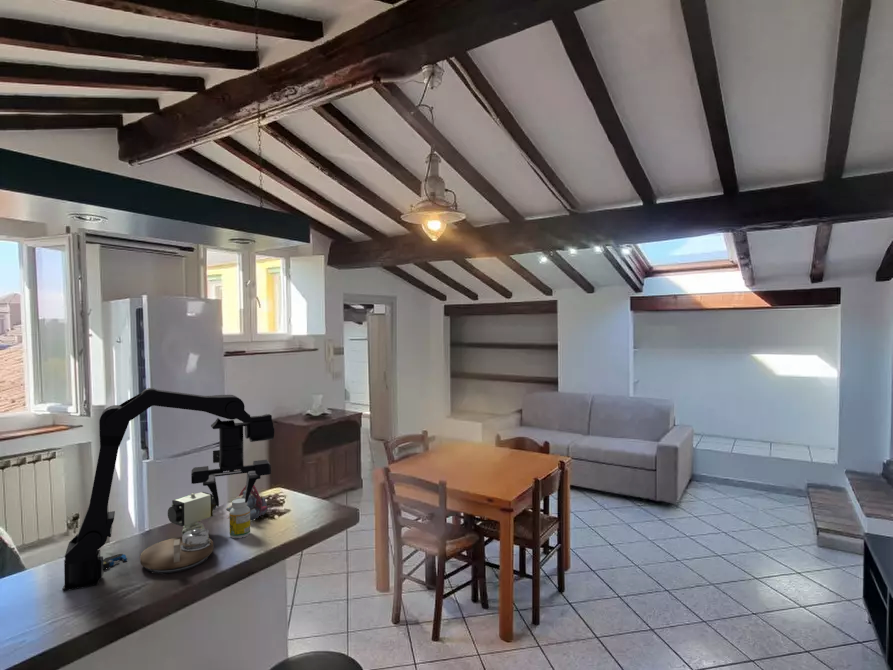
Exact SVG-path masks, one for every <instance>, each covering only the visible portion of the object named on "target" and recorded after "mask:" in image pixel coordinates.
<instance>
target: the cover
mask: <svg viewBox="0 0 893 670" xmlns="http://www.w3.org/2000/svg"><path fill="white" fill-rule="evenodd" d="M181 535H182V534H181ZM181 537H182V545H181V550H182V551H185V552H193V551H199V550H202V549H205V548H207V547H208V546H210V544H211V541H210V540H209V539H210V530H209V529H207V528H204V529H199V528H196V529H192V530H190V531H187V532H185V533H184V534H183V535H182V536H181Z"/></svg>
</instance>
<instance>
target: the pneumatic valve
mask: <svg viewBox="0 0 893 670" xmlns="http://www.w3.org/2000/svg"><path fill="white" fill-rule="evenodd" d="M216 509H217V505H216V502H215V500H214V497H213V495H212V493H208V492H206V491H201V492H197V493H195V492H193V493H190V494H189V495H187V496H183V497H181V498H180V497H179V498H176V499H173V500H172V502H171V506H169V508H168V510H167V518H168V521H169V522H170V523H171V524H174V525H177V526H180V527H182V531H181V535H183V534H184V533H185V532H187V531H190V530H192V529H196V528H199V529H205V525H204V523H201V522H202V521H204V520H206V519H208V518H212V517H213V513H214V511H215V510H216Z"/></svg>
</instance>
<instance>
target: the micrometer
mask: <svg viewBox="0 0 893 670" xmlns="http://www.w3.org/2000/svg"><path fill="white" fill-rule="evenodd" d="M120 560H121V561H122V562H126V561H127V560H128V558H127V556H126V554H123V553H119V554H114V555H111V556H108V557H105V558H103V569H106V568H109V567H110V566H111V567H113V565H114V566H115V564H119V563H120V562H121V561H120ZM111 567H110V568H111ZM110 568H109V569H110ZM106 570H107V569H106Z"/></svg>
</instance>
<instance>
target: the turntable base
mask: <svg viewBox="0 0 893 670" xmlns="http://www.w3.org/2000/svg"><path fill="white" fill-rule="evenodd" d="M209 557H210V555H209V556H208V557H206V558H204V559H203V560H201V561H198V562H196V563H193V564H191V565H187V566H184V567H179V568H174V569H164V570H155V569H148V568H145V570H146V571H147V570H148V572H150V573H152V572H153V574H158V575H159V574H160V575H162V574H161V573H163V575H164V574H165V575H166V574H174V573H179V572H183V571H187V570H190V569H193V568H196V567H198V566H200V565H201V564H202V563H203V564H204V563H205V562H206V561H207V560H208V559H209Z"/></svg>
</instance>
